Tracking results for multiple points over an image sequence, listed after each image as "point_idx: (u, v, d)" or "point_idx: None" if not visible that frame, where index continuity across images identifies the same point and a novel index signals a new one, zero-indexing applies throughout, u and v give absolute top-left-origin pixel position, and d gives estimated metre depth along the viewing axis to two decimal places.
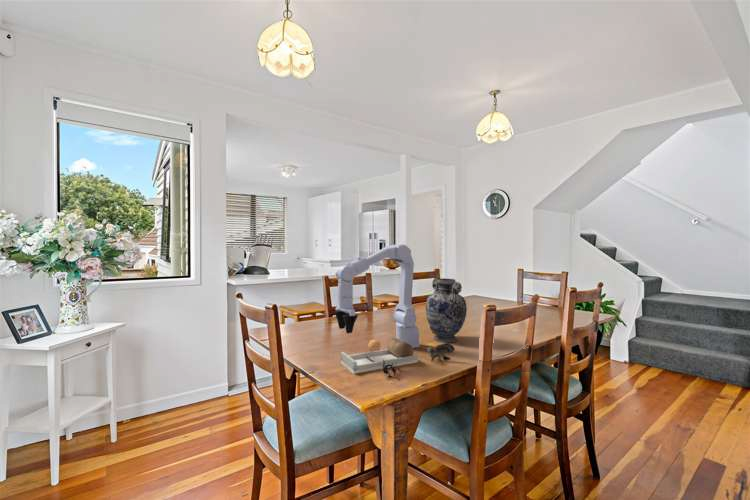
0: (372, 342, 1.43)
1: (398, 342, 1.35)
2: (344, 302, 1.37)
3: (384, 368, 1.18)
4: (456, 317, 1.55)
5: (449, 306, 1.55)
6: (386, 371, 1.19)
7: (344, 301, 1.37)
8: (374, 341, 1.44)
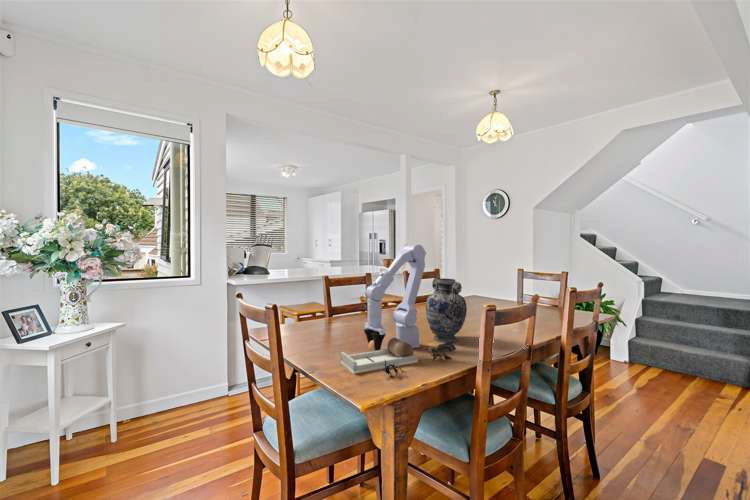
0: (372, 342, 1.43)
1: (398, 342, 1.35)
2: (373, 321, 1.42)
3: (386, 368, 1.18)
4: (456, 317, 1.55)
5: (449, 306, 1.55)
6: (388, 371, 1.19)
7: (374, 320, 1.42)
8: None
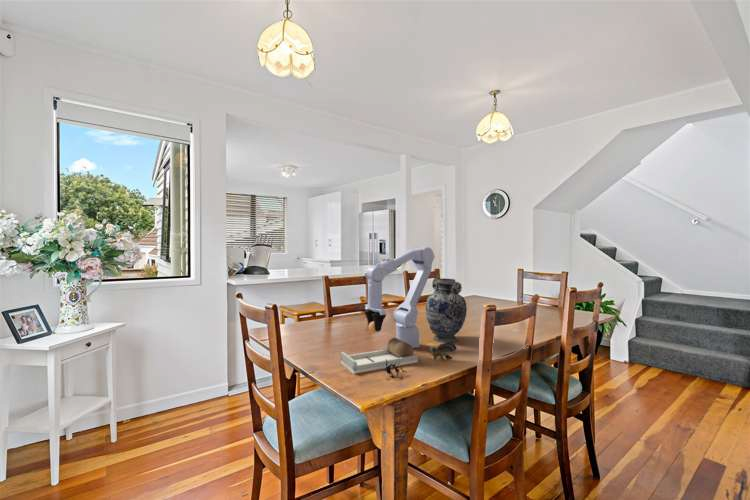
0: (372, 323, 1.43)
1: (398, 342, 1.35)
2: (374, 302, 1.41)
3: (387, 368, 1.18)
4: (456, 317, 1.55)
5: (449, 306, 1.55)
6: (389, 371, 1.19)
7: (374, 301, 1.41)
8: None
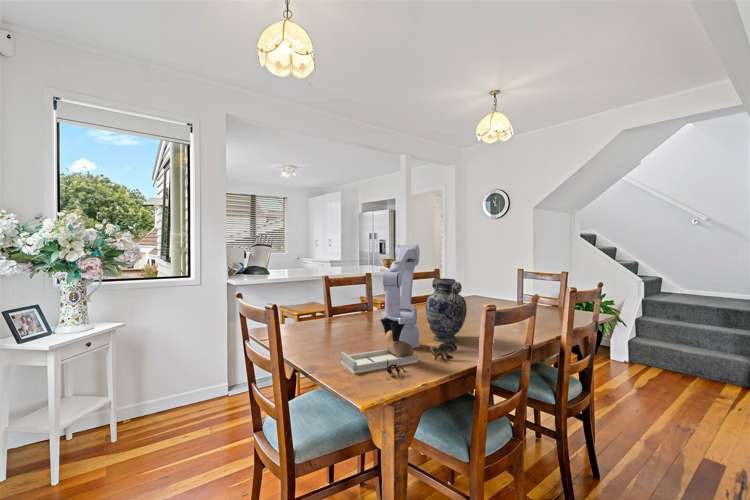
0: (390, 332, 1.33)
1: (398, 342, 1.35)
2: (392, 310, 1.31)
3: (388, 368, 1.18)
4: (456, 317, 1.55)
5: (449, 306, 1.55)
6: (390, 371, 1.19)
7: (392, 309, 1.31)
8: None
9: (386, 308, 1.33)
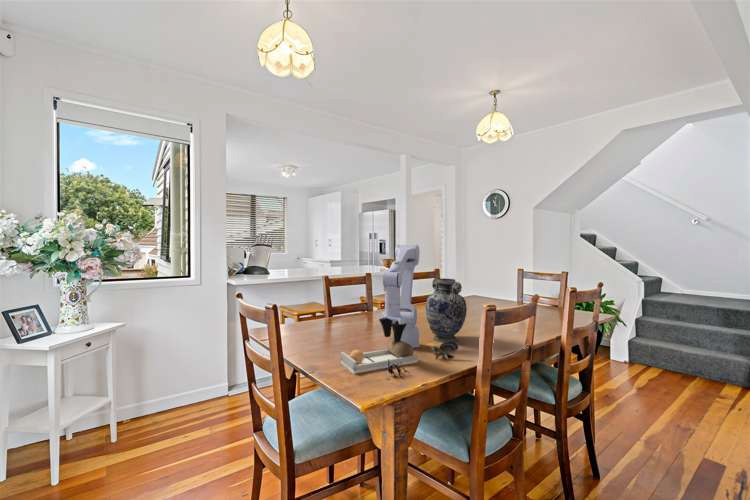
0: (352, 354, 1.26)
1: (398, 342, 1.35)
2: (392, 310, 1.31)
3: (389, 368, 1.18)
4: (456, 317, 1.55)
5: (449, 306, 1.55)
6: (391, 371, 1.19)
7: (392, 309, 1.31)
8: (354, 352, 1.27)
9: (386, 308, 1.33)
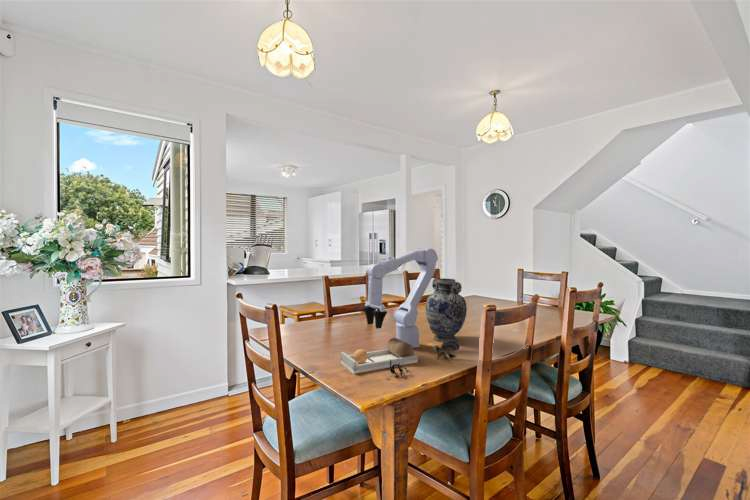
0: (359, 351, 1.28)
1: (398, 342, 1.35)
2: (374, 298, 1.43)
3: (391, 367, 1.18)
4: (456, 317, 1.55)
5: (449, 306, 1.55)
6: (393, 371, 1.19)
7: (374, 298, 1.43)
8: (361, 350, 1.28)
9: (369, 297, 1.44)
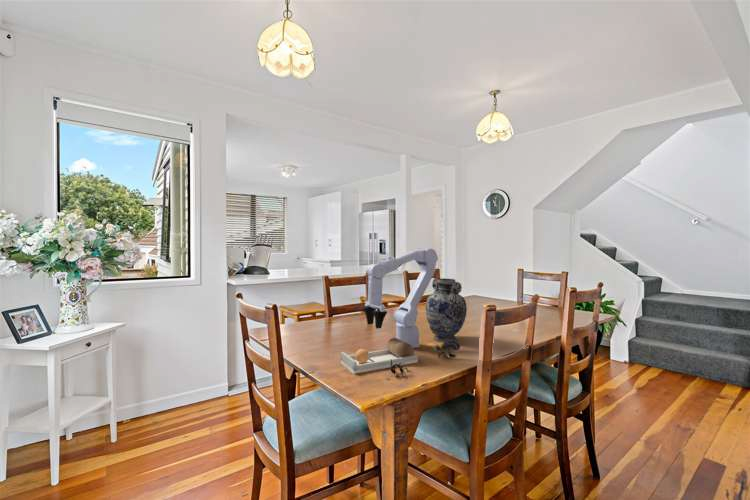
0: (362, 350, 1.28)
1: (398, 342, 1.35)
2: (374, 298, 1.43)
3: (392, 367, 1.18)
4: (456, 317, 1.55)
5: (449, 306, 1.55)
6: (394, 370, 1.19)
7: (374, 298, 1.43)
8: (364, 350, 1.28)
9: (369, 297, 1.44)
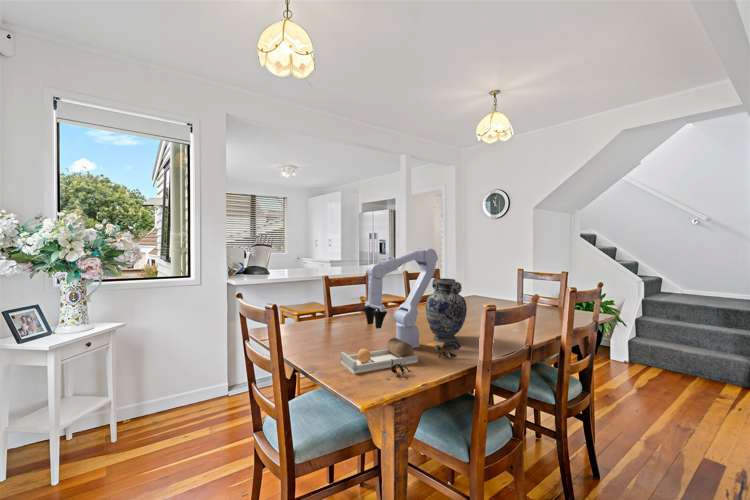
0: (366, 350, 1.29)
1: (398, 342, 1.35)
2: (374, 298, 1.43)
3: (392, 367, 1.18)
4: (456, 317, 1.55)
5: (449, 306, 1.55)
6: (394, 370, 1.19)
7: (374, 298, 1.43)
8: (368, 350, 1.29)
9: (369, 297, 1.44)
